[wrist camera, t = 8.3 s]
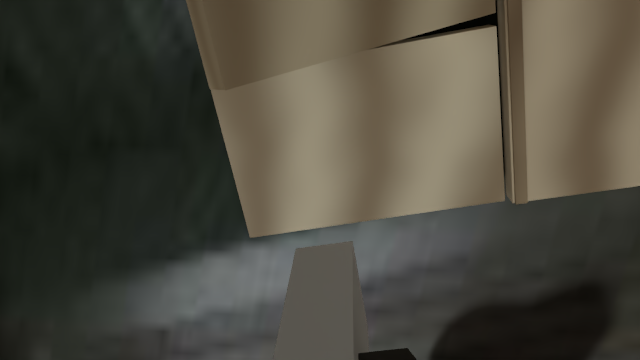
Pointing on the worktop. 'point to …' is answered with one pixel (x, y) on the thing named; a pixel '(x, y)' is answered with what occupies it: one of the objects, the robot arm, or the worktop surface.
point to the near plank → (309, 31)
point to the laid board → (569, 96)
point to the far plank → (369, 134)
